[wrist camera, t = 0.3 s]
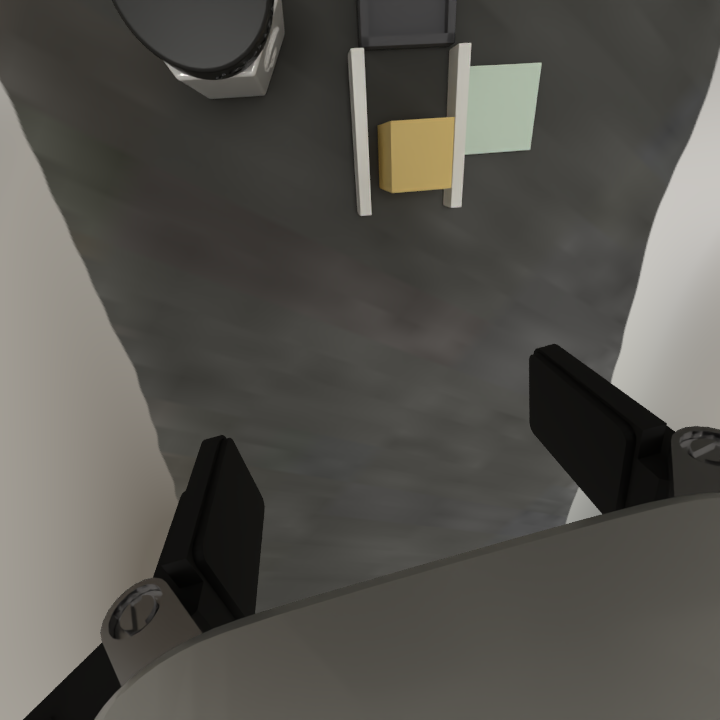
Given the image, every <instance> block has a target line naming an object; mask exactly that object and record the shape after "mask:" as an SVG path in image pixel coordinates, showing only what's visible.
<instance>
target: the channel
mask: <svg viewBox="0 0 720 720" xmlns="http://www.w3.org/2000/svg"><path fill="white" fill-rule="evenodd" d="M470 58H471V43H459V44H457V45H456V46H454V47H453V48H452V49H450V50H449V69H448V94H447V117H455V121H454V142H453V163H452V184H451V188H447V189H444V195H443V205H444V206H447V207H450V208H455V207H461V205H462V188H463V172H464V156H465V139H466V123H467V107H468V91H469V74H470ZM348 71H349V87H350V103H351V119H352V135H353V151H354V167H355V183H356V199H357V213H358V214H359V215H360V216H366V215H372V213H371V191H370V169H369V147H368V125H367V103H366V82H365V60H364V48H351V49H350V51H349V53H348Z"/></svg>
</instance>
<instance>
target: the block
mask: <svg viewBox="0 0 720 720" xmlns="http://www.w3.org/2000/svg"><path fill="white" fill-rule="evenodd" d="M454 121H455V117H445V118H430V119H414V120H399V121H389V122H387V123H384V124H381V125H378V126H377V129H378V158H379V186H380V188H381V189H383V190H386V191H388V192H391V193H400V192H412V191H423V190H435V189H447V188H451V184H452V163H453V142H454Z"/></svg>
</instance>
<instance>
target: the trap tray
mask: <svg viewBox="0 0 720 720" xmlns="http://www.w3.org/2000/svg"><path fill="white" fill-rule="evenodd" d="M456 1H457V0H357V9H358V29H359V48H364V50H379V49H400V48H422V47H443V46H450V45H452V44H453V43H455V23H456Z"/></svg>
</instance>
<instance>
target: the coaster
mask: <svg viewBox="0 0 720 720" xmlns="http://www.w3.org/2000/svg"><path fill="white" fill-rule="evenodd" d="M541 64H542V63H525V64H506V65H487V66H470V74H469V91H468V107H467V123H466V139H465V155H467V154H481V153H494V152H507V151H520V150H530V147H531V139H532V132H533V124H534V117H535V109H536V102H537V94H538V87H539V79H540V72H541Z"/></svg>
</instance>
